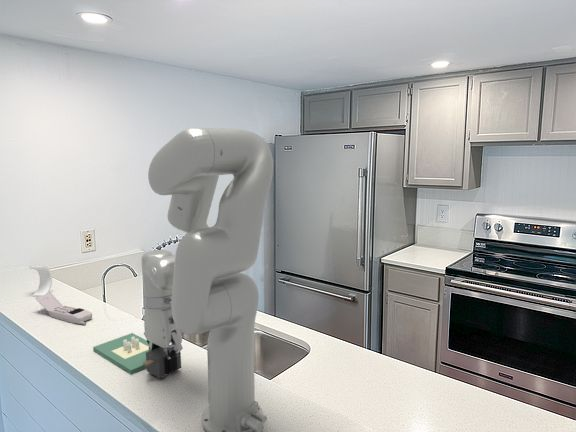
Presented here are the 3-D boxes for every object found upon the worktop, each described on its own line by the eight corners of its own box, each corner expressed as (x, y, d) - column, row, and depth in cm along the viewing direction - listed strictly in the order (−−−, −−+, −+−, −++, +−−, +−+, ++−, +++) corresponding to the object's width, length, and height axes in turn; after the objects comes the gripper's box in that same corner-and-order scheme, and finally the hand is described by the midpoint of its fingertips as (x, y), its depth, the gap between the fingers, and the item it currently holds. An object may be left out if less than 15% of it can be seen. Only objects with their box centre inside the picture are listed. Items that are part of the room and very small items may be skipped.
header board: (171, 357, 116) (170, 342, 115) (131, 374, 107) (130, 359, 106) (132, 336, 129) (131, 323, 128) (93, 350, 120) (92, 337, 119)
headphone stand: (32, 297, 163) (29, 266, 162) (42, 291, 169) (39, 262, 168) (43, 297, 163) (41, 267, 161) (53, 292, 169) (50, 263, 167)
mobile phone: (49, 292, 152) (96, 303, 140) (51, 308, 153) (98, 320, 141) (33, 297, 147) (80, 309, 135) (35, 313, 148) (82, 327, 136)
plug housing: (181, 368, 108) (180, 349, 108) (152, 381, 102) (151, 362, 101) (168, 361, 112) (167, 343, 111) (139, 374, 106) (138, 355, 105)
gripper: (193, 303, 103) (197, 373, 105) (153, 289, 113) (157, 353, 116) (167, 312, 97) (171, 385, 99) (127, 297, 108) (132, 363, 110)
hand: (164, 367), depth 108 cm, fingers closed on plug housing, 5 cm apart
